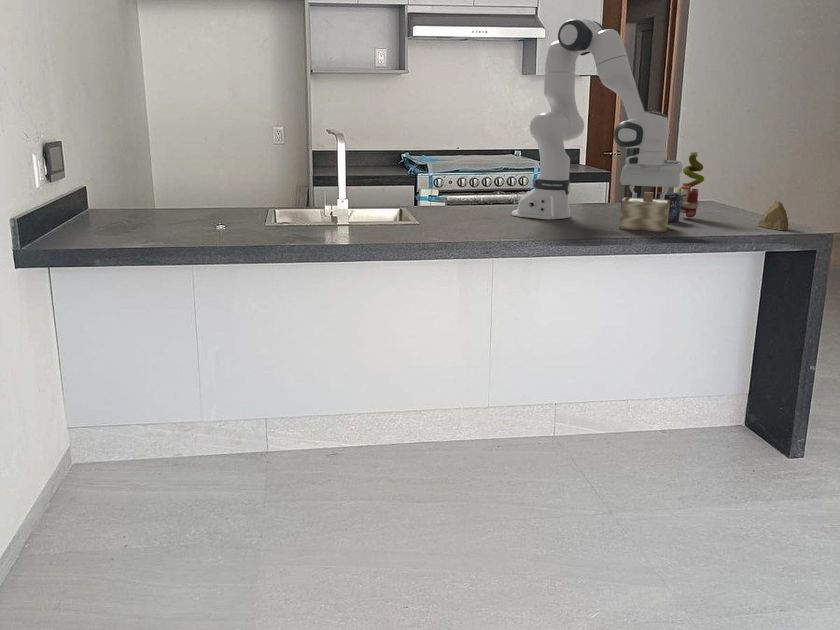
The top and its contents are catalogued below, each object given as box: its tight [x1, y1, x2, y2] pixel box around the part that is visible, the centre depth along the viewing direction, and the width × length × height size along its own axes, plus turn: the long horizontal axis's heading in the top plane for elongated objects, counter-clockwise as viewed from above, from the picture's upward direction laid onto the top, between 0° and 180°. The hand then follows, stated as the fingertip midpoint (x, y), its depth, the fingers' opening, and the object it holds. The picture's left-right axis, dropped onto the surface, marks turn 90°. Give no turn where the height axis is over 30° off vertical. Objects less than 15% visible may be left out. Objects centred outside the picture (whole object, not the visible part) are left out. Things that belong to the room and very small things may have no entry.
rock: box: [757, 200, 789, 231], centre depth 285 cm, size 11×9×10 cm
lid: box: [629, 191, 668, 203], centre depth 280 cm, size 13×8×5 cm, turn 71°
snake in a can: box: [675, 151, 705, 218], centre depth 301 cm, size 12×10×25 cm
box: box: [655, 191, 682, 223], centre depth 297 cm, size 8×6×11 cm
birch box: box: [618, 197, 670, 233], centre depth 282 cm, size 16×10×10 cm, turn 71°
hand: (648, 199), depth 280 cm, fingers open, 8 cm apart
